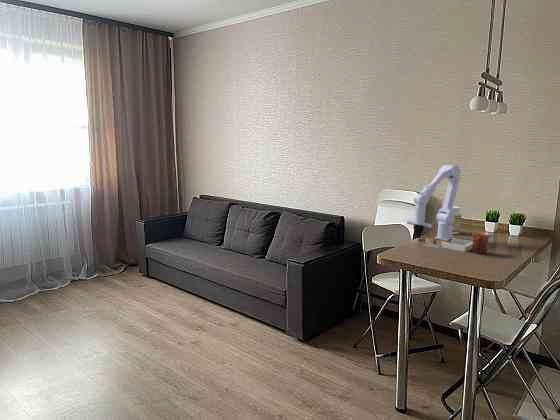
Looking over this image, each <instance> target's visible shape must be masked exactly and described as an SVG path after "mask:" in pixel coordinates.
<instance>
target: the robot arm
mask: <svg viewBox="0 0 560 420" xmlns="http://www.w3.org/2000/svg"><path fill="white" fill-rule="evenodd" d="M460 174H461V169H460V167H459V166H458V165H456V164H453V165H452V164H443V165H442V166H441V167H440V168H438V173H437V174H436V175H435V176H434V178H433V179H432V181H431V182H430V184H429V183H428V184H426V185H424V187H423V188H422V190H421V191H420V192H419V193H417V194H416V195H415V196H414V198H413V203H414V220H406V225H411V226H412V227H413V231H414V233H415V237H416V238H417V239H420V238H421V236H422V233H423V231H424V229H425V228H433V224H432V223H428V222H425V220H426V209H427V208H426V207H427V204H428V203H429V200H430V197H431V196H433V194H435V193H434V192H436V187H437V186H438V185H439V184H440V183H441V182H442V181H443V180H444V179H447V181H448V184H447V189H446V192H445V196H444V200H443V204H442V207H441V208H439V209H438V212H437V214H436V216H435V219H436V221H437V223H438V225H437V235H436V236H435V237H434V238H436V239H437V240H439V239H442V240H448V241H449V240H452V238H454V237H453V234H452V230H453V227H452V223H453V222H454V220H455V217H454V215H455V212H454V211H453V209H452V208H453V206H454V204H455V200H456V195H457V191H458V187H459V184H460V178H461V177H460ZM446 212H447V213H446Z"/></svg>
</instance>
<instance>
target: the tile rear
mask: <svg viewBox="0 0 560 420" xmlns="http://www.w3.org/2000/svg"><path fill="white" fill-rule="evenodd" d="M436 240H438V239H437V238H435V237H426V238H425V239H424V242H425V244H426V243H430V244H436Z"/></svg>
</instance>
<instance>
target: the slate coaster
mask: <svg viewBox="0 0 560 420" xmlns="http://www.w3.org/2000/svg"><path fill="white" fill-rule="evenodd" d="M422 246H423V247H428V248H433V249H439V248H441V245H437V244H436V243H434V244H432V243H426V242H425V244H423V245H422Z"/></svg>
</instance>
